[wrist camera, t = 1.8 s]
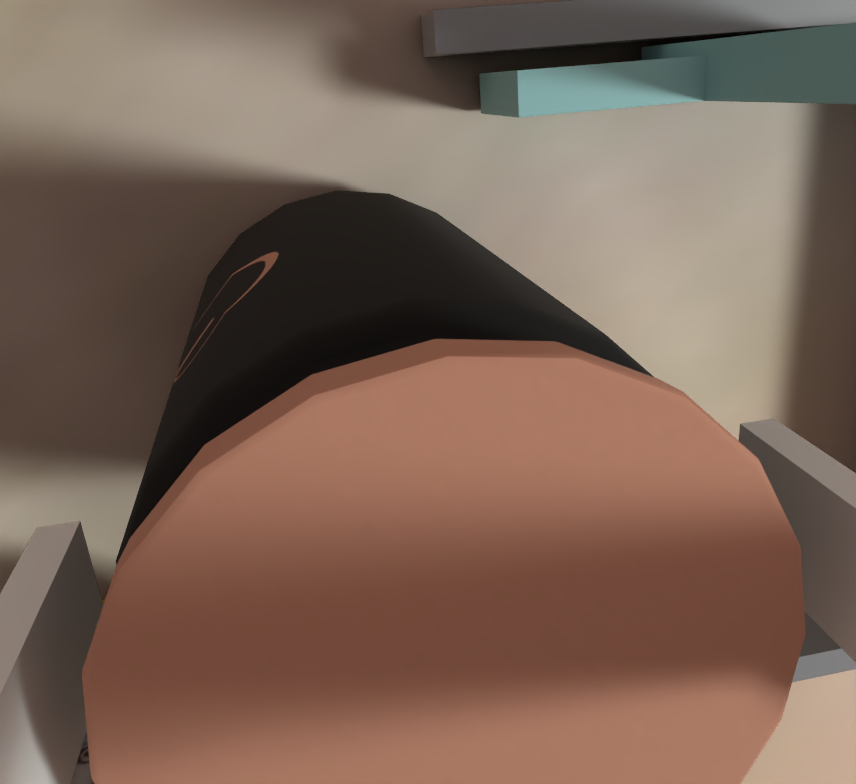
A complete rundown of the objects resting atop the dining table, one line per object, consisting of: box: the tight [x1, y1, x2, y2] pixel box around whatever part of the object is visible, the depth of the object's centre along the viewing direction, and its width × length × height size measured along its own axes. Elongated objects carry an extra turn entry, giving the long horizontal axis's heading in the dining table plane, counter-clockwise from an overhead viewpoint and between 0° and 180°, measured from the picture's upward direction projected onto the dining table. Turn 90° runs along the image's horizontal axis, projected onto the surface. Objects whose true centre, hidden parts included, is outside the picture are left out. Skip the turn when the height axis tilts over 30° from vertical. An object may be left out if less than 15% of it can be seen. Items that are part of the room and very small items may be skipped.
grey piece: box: [421, 0, 856, 682], centre depth 29 cm, size 19×25×4 cm
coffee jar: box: [82, 191, 806, 784], centre depth 20 cm, size 11×11×18 cm
